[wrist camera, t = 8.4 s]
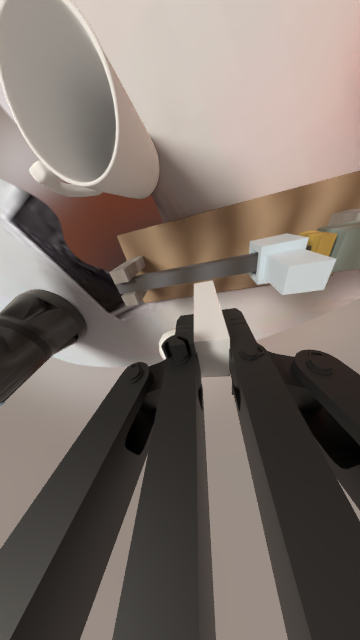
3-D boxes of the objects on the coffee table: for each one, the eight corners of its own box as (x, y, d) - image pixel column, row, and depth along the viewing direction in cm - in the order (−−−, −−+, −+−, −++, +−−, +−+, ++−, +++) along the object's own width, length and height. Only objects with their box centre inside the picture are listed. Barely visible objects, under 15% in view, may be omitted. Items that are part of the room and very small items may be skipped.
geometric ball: (186, 329, 37) (200, 358, 33) (159, 342, 36) (169, 372, 33) (182, 317, 30) (198, 351, 26) (148, 333, 30) (160, 369, 26)
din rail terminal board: (146, 300, 29) (129, 326, 22) (120, 235, 22) (84, 243, 15) (326, 273, 23) (385, 298, 15) (367, 168, 16) (507, 128, 9)
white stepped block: (247, 273, 19) (274, 303, 12) (249, 241, 17) (283, 257, 10) (280, 268, 18) (327, 297, 12) (286, 233, 16) (350, 244, 9)
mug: (140, 104, 15) (36, -103, 5) (171, 181, 18) (142, 141, 9) (81, 170, 18) (-46, 118, 9) (116, 224, 22) (51, 230, 12)
